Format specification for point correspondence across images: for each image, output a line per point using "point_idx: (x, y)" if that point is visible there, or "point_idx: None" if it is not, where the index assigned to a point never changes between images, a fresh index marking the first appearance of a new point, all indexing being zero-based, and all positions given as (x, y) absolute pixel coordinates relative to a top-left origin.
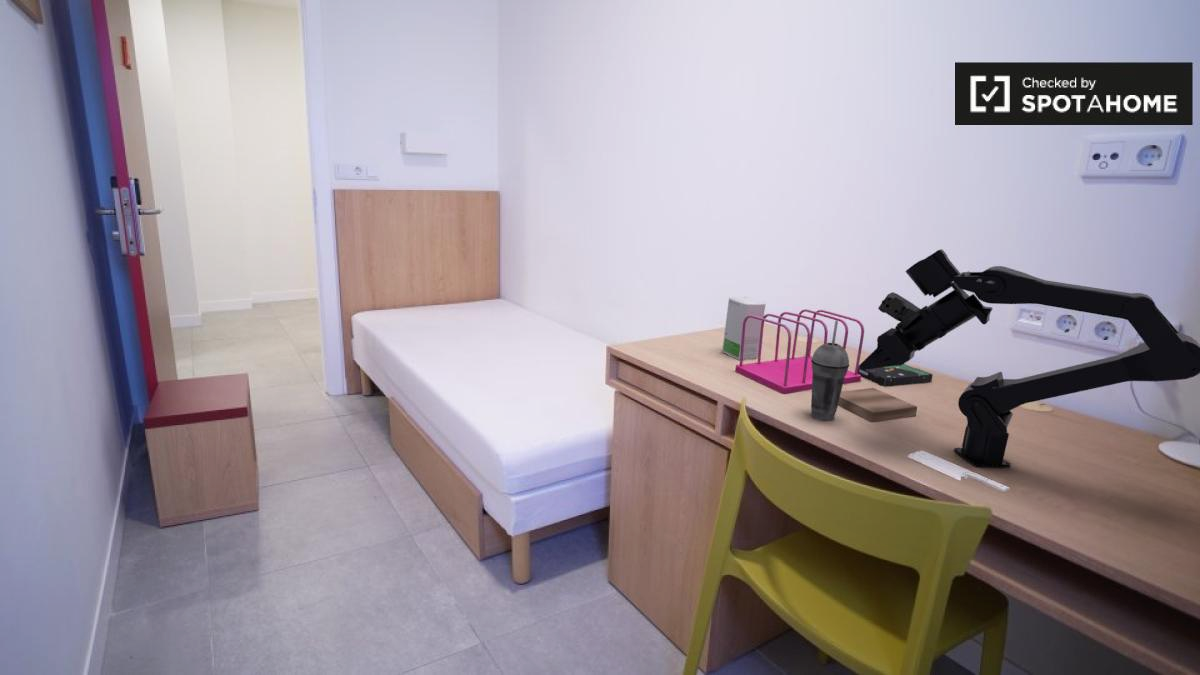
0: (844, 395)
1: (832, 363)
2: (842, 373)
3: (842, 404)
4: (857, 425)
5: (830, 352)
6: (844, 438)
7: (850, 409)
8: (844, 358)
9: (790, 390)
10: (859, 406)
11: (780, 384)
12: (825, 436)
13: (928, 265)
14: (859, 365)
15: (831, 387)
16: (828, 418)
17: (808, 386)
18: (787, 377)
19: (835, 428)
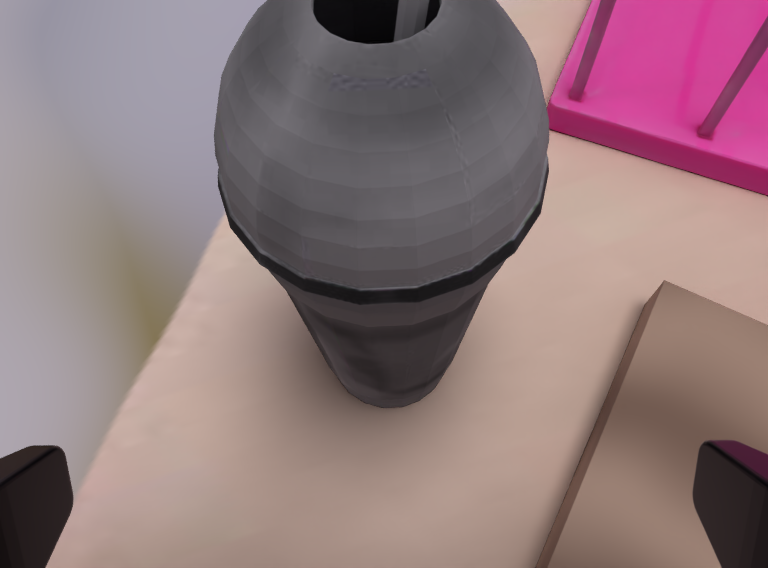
0: (689, 349)
1: (225, 184)
2: (317, 305)
3: (618, 375)
4: (398, 544)
5: (232, 77)
6: (148, 549)
7: (593, 433)
8: (313, 221)
9: (583, 129)
10: (581, 482)
11: (573, 76)
12: (118, 458)
13: None
14: (29, 449)
15: (298, 307)
16: (348, 389)
17: (709, 162)
18: (701, 60)
19: (265, 460)
